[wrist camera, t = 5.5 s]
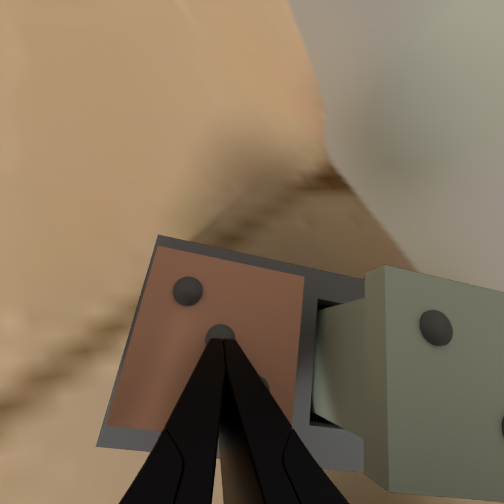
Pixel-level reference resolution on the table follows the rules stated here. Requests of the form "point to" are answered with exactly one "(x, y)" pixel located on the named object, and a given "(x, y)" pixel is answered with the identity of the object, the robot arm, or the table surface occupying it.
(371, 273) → the key two dots
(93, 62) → the table surface
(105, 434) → the key console
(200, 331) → the key three dots
